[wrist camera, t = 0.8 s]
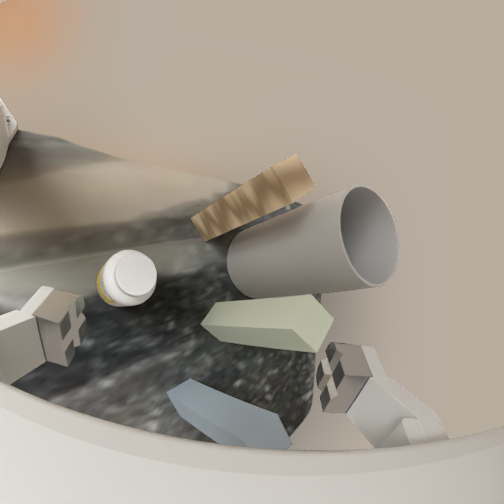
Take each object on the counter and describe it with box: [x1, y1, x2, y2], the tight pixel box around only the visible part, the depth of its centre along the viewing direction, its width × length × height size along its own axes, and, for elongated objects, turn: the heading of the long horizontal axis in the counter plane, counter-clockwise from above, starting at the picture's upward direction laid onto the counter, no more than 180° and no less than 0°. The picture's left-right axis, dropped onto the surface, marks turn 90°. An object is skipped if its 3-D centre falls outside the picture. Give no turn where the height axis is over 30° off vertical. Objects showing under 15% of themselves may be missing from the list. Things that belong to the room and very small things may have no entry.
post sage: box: [200, 294, 334, 353], centre depth 43 cm, size 4×4×22 cm
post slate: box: [166, 379, 292, 450], centre depth 37 cm, size 4×4×22 cm
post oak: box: [191, 154, 315, 242], centre depth 45 cm, size 4×4×22 cm
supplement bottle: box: [96, 250, 157, 307], centre depth 39 cm, size 7×7×13 cm
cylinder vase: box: [227, 184, 399, 299], centre depth 47 cm, size 12×12×25 cm
